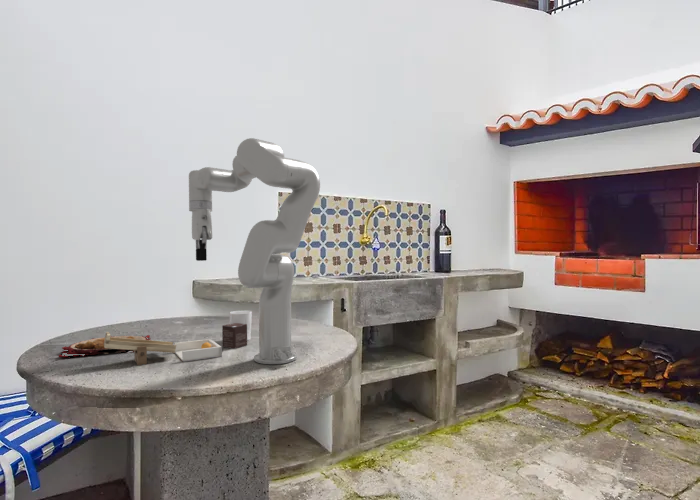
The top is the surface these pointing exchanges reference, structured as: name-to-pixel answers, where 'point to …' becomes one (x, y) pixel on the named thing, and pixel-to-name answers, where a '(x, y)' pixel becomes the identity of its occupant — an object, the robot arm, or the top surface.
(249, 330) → the white cup
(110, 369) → the top surface
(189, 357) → the dish
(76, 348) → the plate with food
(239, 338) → the box
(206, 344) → the ball
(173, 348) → the lever
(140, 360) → the fulcrum
